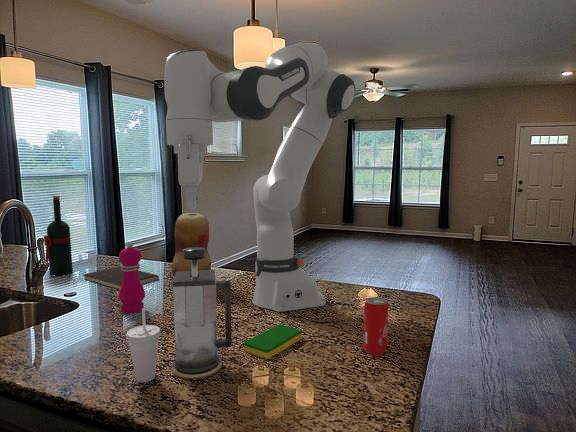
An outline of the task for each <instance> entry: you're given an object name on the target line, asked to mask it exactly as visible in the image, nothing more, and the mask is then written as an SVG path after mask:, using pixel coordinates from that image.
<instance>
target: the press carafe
mask: <svg viewBox="0 0 576 432" xmlns="http://www.w3.org/2000/svg"><path fill="white" fill-rule="evenodd" d="M215 273H216V272H215V269H211V270H198V277H192V271H176V274H175V277H174V276H173V280H172V291H173V295H172V296H173V321H174V344H175V345H174V347H175V348H174V349H175V350H174V351H175V358H174V361H173V362H172V364H171V372H172V374H173V375H174V376H176V377H178V378H180V379H186V380H198V379H204V378H207V377H210V376H213V375H215V374H217V373H218V372H220V370H221V369H222V367H223V359H222V357H220V355H219V353H218V352H219V351H218V350H219V349H224V348H232V347H233V345H232V344H233V343H232V342H233V341H232V339H233V338H232V291H231V289H232V287H231V285H232V283H231V282H232V281H231V280H218V281H217V278H216V274H215ZM219 289H224V317H225V318H224V325H225V327H224V329H225V330H224V332H225V339H218V316H217V315H218V314H217V290H219ZM216 372H217V373H216Z"/></svg>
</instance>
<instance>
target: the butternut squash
mask: <svg viewBox="0 0 576 432" xmlns="http://www.w3.org/2000/svg"><path fill="white" fill-rule="evenodd" d="M209 242H210V224H209V220H208V217H206V216H205V215H203V214H201V213H198V212H185V213H182V214H180V215H179V216H178V217H177V219H176V220H175V226H174V245H175V253H174V256H173V259H172V263H171V274H172V275H173V278H174V277H175V274H176V271H192V264H191V260H187V259H184V258H183V249H186V248H193V247H199V248H205V258H203V259H197V263H198V270H212V260H211V256H210V254H209V252H208V245H209Z"/></svg>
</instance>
